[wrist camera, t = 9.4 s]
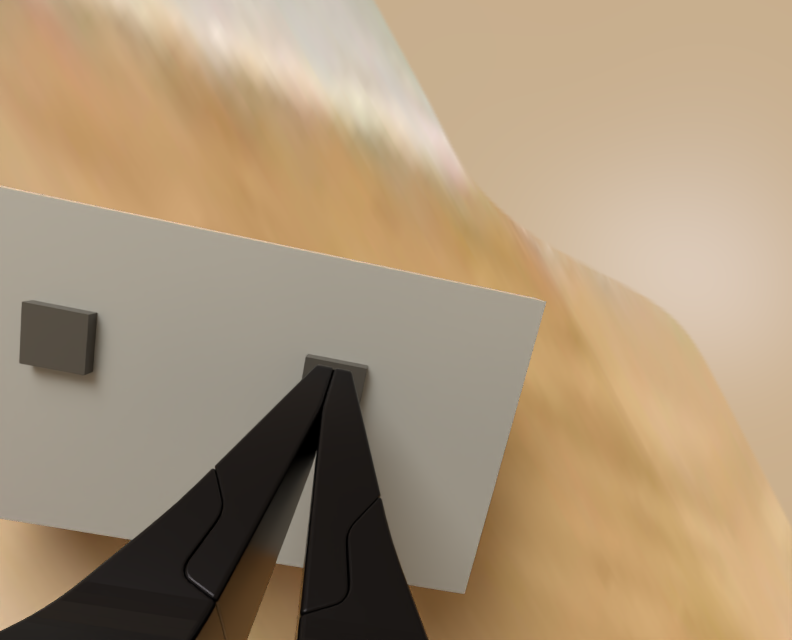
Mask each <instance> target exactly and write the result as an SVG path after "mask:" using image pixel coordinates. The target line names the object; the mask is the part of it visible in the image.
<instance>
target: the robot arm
mask: <svg viewBox="0 0 792 640" xmlns="http://www.w3.org/2000/svg"><path fill="white" fill-rule="evenodd" d="M315 456H316V460H315V468H314V476H313V485H312V494H311V503H310V512H309V520H308V529H307V538H306V547H305V556H304V565H303V573H302V582H301V591H300V600H299V609H298V617H297V626H296V635H295V640H428V637H427V635H426V632H425V629H424V626H423V624H422V621H421V618H420V616H419V613H418V610H417V608H416V605H415V602H414V599H413V597H412V594H411V591H410V589H409V586H408V583H407V580H406V578H405V575H404V572H403V570H402V567H401V564H400V561H399V558H398V555H397V552H396V549H395V546H394V543H393V540H392V536H391V532H390V529H389V525H388V521H387V518H386V514H385V510H384V505H383V501H382V498H380V497H381V493H380V489H379V485H378V481H377V476H376V472H375V468H374V464H373V459H372V455H371V451H370V447H369V442H368V438H367V434H366V430H365V425H364V421H363V417H362V412H361V408H360V404H359V400H358V395H357V391H356V387H355V383H354V378H353V374H352V372H351V371H350V370H345V369H340V368H336V369H333V367H330V366H325V365H316V366H315V367H314V368H313V369H312V370H311V371H310V372H309V373H308V374H307V375H306V376H305V377H304V378H303V379H302V380H301V381H300V382H299V383H298V384H297V385H296V386H295V387H294V388H293V389H292V390H291V391H290V392H289V393H288V394H287V395H286V396H284V397H283V398H282V399H281V400H280V401H279V402H278V403H277V404H276V405H275V406H274V407H273V408H272V409H271V410H270V411H269V412H268V413H267V414H266V415H265V416H264V417H263V418H262V419H261V420H260V421H259V422H258V423H257V424H256V425H255V426H254V427H253V428H252V429H251V430H250V431H249V432H248V433H247V434H246V435H245V436H244V437H243V438H242V439H241V440H240V441H239V442H238V443H237V444H236V445H235V446H234V447H233V448H232V449H231V450H230V451H229V452H228V453H227V454H226V455H225V456H224V457H223V458H222V459H221V460H220V461H219V462H218V463H217V464H216V465H215V469H214V468H212V469H211V470H210V471H209V472H208V473H207V474H206V475H205V476H204V477H203V478H202V479H201V480H200V481H199V482H198V483H197V484H196V485H194V486H193V487H192V488H191V489H190V490H189V491H188V492H187V493H186V494H185V495H184V496H183V497H182V498H181V499H180V500H179V501H177V502H176V503H175V504H174V505H173V506H172V507H171V508H169V509H168V510H167V511H166V512H165V513H164V514H162V515H161V516H160V517H159V518H158V519H157V520H155V521H154V522H153V523H152V524H151V525H149V526H148V527H147V528H146V529H145V530H143V531H142V532H141V533H140V534H138V535H137V536H136V537H135V538H134V539H132V540H131V541H130V542H129V543H127V544H126V545H125V546H124V547H122V548H121V549H120V550H119V551H118V552H116V553H115V554H114V555H113V556H111V557H110V558H109V559H108V560H107V561H105V562H104V563H103V564H102V565H100V566H99V567H98V568H97V569H96V570H94V571H93V572H92V573H91V574H89V575H88V576H87V577H86V578H84V579H83V580H82V581H81V582H79V583H78V584H77V585H76V586H74V587H73V588H72V589H71V590H69V591H68V592H67V593H65V594H64V595H62V596H61V597H60V598H58V599H57V600H55V601H54V602H52V603H51V604H49V605H48V606H46V607H44V608H43V609H41V610H39V611H38V612H36V613H34V614H33V615H31V616H29V617H27V618H25V619H23V620H22V621H20V622H18V623H16V624H14V625H12V626H10V627H8V628H6V629H4V630H2V631H0V640H247V638H248V636H249V633H250V630H251V628H252V625H253V622H254V620H255V617H256V614H257V612H258V609H259V606H260V604H261V601H262V598H263V596H264V593H265V590H266V588H267V585H268V582H269V580H270V577H271V574H272V572H273V569H274V566H275V564H276V561H277V558H278V556H279V553H280V550H281V548H282V545H283V542H284V540H285V537H286V534H287V532H288V529H289V526H290V524H291V521H292V518H293V516H294V513H295V510H296V508H297V505H298V502H299V500H300V497H301V494H302V492H303V489H304V486H305V484H306V481H307V478H308V476H309V473H310V470H311V468H312V465H313V462H314V459H315Z"/></svg>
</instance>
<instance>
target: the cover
mask: <svg viewBox="0 0 792 640" xmlns="http://www.w3.org/2000/svg"><path fill="white" fill-rule="evenodd" d="M545 304H546V302H545V301H543V300H540V299H537V298H533V297H528V296H524V295H519V294H514V293H509V292H505V291H500V290H495V289H490V288H486V287H481V286H476V285H471V284H467V283H462V282H457V281H452V280H448V279H443V278H438V277H433V276H429V275H424V274H419V273H414V272H410V271H405V270H400V269H395V268H391V267H386V266H381V265H376V264H372V263H367V262H362V261H357V260H353V259H348V258H343V257H338V256H333V255H329V254H324V253H319V252H314V251H310V250H305V249H300V248H295V247H291V246H286V245H281V244H276V243H272V242H267V241H262V240H257V239H253V238H248V237H243V236H238V235H234V234H229V233H224V232H219V231H215V230H210V229H205V228H200V227H196V226H191V225H186V224H181V223H177V222H172V221H167V220H162V219H158V218H153V217H148V216H143V215H138V214H134V213H129V212H124V211H119V210H115V209H110V208H105V207H100V206H96V205H91V204H86V203H81V202H77V201H72V200H67V199H62V198H58V197H53V196H48V195H43V194H39V193H34V192H29V191H24V190H20V189H15V188H10V187H5V186H1V185H0V519H6V520H12V521H18V522H25V523H31V524H37V525H43V526H49V527H55V528H61V529H68V530H74V531H80V532H86V533H92V534H98V535H104V536H111V537H117V538H123V539H129V540H132V539H134V538H135V537H136V536H137V535H138V534H140V533H141V532H142V531H143V530H145V529H146V528H147V527H148V526H149V525H151V524H152V523H153V522H154V521H155V520H157V519H158V518H159V517H160V516H161V515H162V514H164V513H165V512H166V511H167V510H168V509H169V508H171V507H172V506H173V505H174V504H175V503H176V502H177V501H179V500H180V499H181V498H182V497H183V496H184V495H185V494H186V493H187V492H188V491H189V490H190V489H191V488H192V487H193V486H194V485H196V484H197V483H198V482H199V481H200V480H201V479H202V478H203V477H204V476H205V475H206V474H207V473H208V472H209V471H210V470H211V469H212V468H214V469H215V465H216V464H217V463H218V462H219V461H220V460H221V459H222V458H223V457H224V456H225V455H226V454H227V453H228V452H229V451H230V450H231V449H232V448H233V447H234V446H235V445H236V444H237V443H238V442H239V441H240V440H241V439H242V438H243V437H244V436H245V435H246V434H247V433H248V432H249V431H250V430H251V429H252V428H253V427H254V426H255V425H256V424H257V423H258V422H259V421H260V420H261V419H262V418H263V417H264V416H265V415H266V414H267V413H268V412H269V411H270V410H271V409H272V408H273V407H274V406H275V405H276V404H277V403H278V402H279V401H280V400H281V399H282V398H283V397H284V396H286V395H287V394H288V393H289V392H290V391H291V390H292V389H293V388H294V387H295V386H296V385H297V384H298V383H299V382H300V381H301V380H302V379H303V378H304V377H305V376H306V375H307V374H308V373H309V372H310V371H311V370H312V369H313V368H314V367H315V366H316V365H325V366H330V367H333V369H336V368H340V369H345V370H350V371H351V372H352V374H353V378H354V383H355V387H356V391H357V395H358V400H359V404H360V408H361V412H362V417H363V421H364V425H365V430H366V434H367V438H368V442H369V447H370V451H371V455H372V459H373V464H374V468H375V472H376V476H377V481H378V485H379V489H380V493H381V497H380V498H382V501H383V505H384V510H385V514H386V518H387V521H388V525H389V529H390V532H391V536H392V540H393V543H394V546H395V549H396V552H397V555H398V558H399V561H400V564H401V567H402V570H403V572H404V575H405V578H406V580H407V583H408V585H412V586H418V587H424V588H430V589H436V590H442V591H448V592H455V593H461V594H465V591H466V587H467V584H468V580H469V576H470V573H471V569H472V566H473V562H474V559H475V555H476V551H477V548H478V544H479V541H480V537H481V533H482V530H483V526H484V523H485V519H486V516H487V512H488V508H489V505H490V501H491V498H492V494H493V491H494V487H495V483H496V480H497V476H498V473H499V469H500V465H501V462H502V458H503V455H504V451H505V448H506V444H507V440H508V437H509V433H510V430H511V426H512V423H513V419H514V415H515V412H516V408H517V405H518V401H519V397H520V394H521V390H522V387H523V383H524V380H525V376H526V372H527V369H528V365H529V362H530V358H531V355H532V351H533V347H534V344H535V340H536V337H537V333H538V329H539V326H540V322H541V319H542V315H543V312H544V308H545ZM315 460H316V456H315V459H314V462H313V465H312V468H311V470H310V473H309V476H308V478H307V481H306V484H305V486H304V489H303V492H302V494H301V497H300V500H299V502H298V505H297V508H296V510H295V513H294V516H293V518H292V521H291V524H290V526H289V529H288V532H287V534H286V537H285V540H284V542H283V545H282V548H281V550H280V553H279V556H278V558H277V561H276V564H283V565H289V566H295V567H301V568H303V565H304V556H305V547H306V538H307V529H308V520H309V512H310V503H311V494H312V485H313V476H314V468H315Z"/></svg>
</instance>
